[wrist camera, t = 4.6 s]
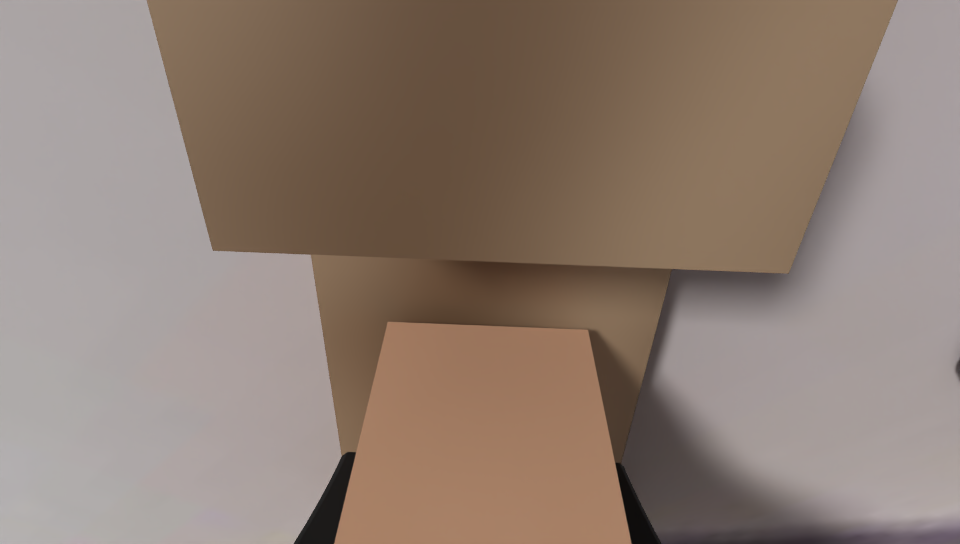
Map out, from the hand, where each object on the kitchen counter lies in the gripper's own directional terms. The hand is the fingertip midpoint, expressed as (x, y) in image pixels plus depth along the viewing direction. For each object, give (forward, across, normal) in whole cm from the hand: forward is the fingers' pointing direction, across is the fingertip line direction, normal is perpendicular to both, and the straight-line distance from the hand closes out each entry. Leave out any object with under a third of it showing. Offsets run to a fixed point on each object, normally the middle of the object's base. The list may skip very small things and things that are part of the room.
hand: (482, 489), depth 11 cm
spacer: (+2, 0, 0) cm, 2 cm away
